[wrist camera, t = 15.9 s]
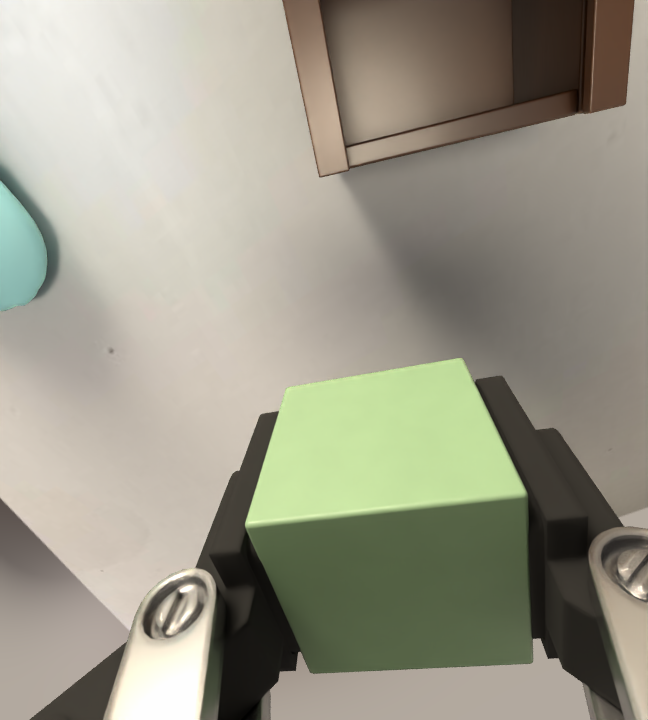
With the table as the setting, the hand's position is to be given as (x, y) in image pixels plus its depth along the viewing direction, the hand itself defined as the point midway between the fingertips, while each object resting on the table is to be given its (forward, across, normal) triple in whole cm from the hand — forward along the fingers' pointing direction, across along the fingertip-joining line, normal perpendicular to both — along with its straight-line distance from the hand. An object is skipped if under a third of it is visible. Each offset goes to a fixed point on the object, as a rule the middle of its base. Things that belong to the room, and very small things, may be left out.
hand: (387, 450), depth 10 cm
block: (0, 0, 0) cm, 0 cm away
